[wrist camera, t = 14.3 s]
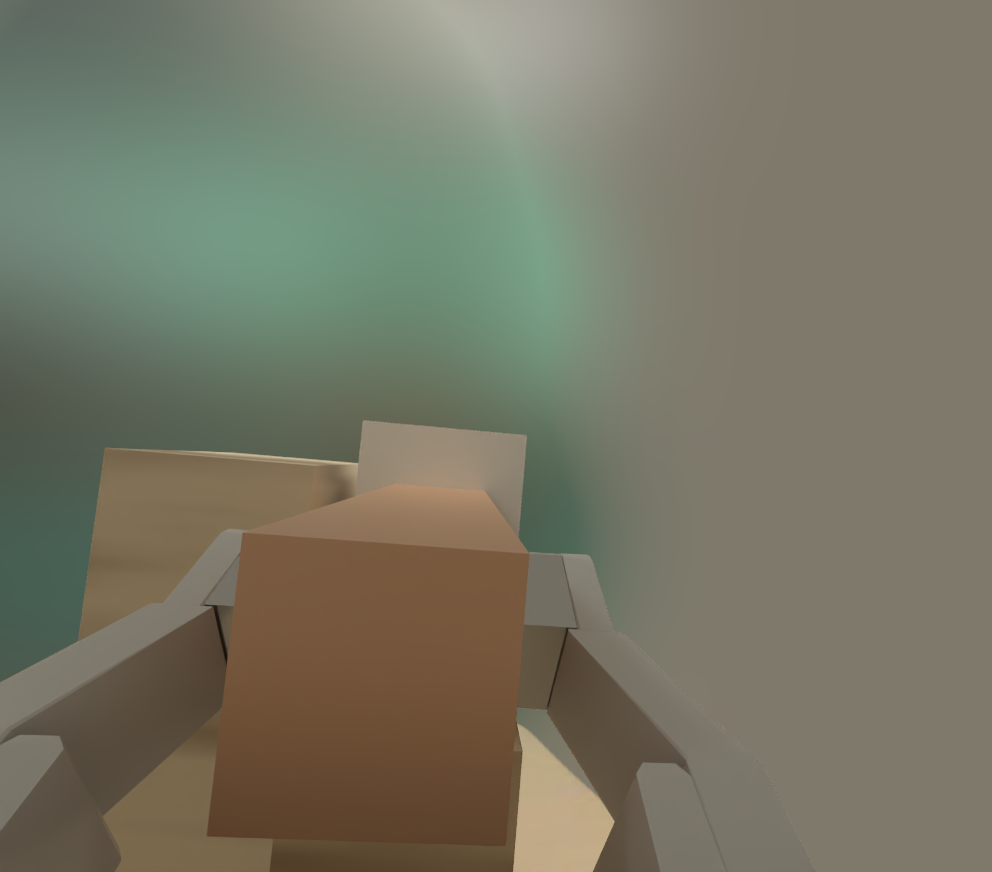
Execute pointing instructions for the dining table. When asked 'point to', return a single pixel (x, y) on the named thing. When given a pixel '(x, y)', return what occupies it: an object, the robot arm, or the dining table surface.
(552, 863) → the dining table surface
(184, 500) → the beige tall block
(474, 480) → the hammer
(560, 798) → the dining table surface
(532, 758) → the dining table surface
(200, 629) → the robot arm
